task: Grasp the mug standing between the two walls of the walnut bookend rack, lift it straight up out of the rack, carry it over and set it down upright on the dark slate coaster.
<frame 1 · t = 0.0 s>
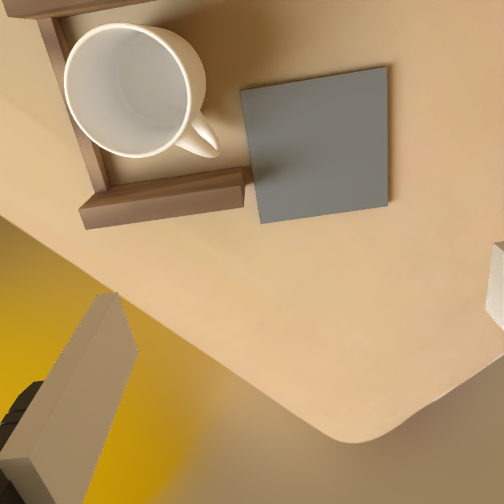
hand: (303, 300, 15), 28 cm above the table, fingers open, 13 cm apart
mug: (175, 94, 38), on the table
rack: (174, 95, 38), on the table
coaster: (317, 150, 40), on the table
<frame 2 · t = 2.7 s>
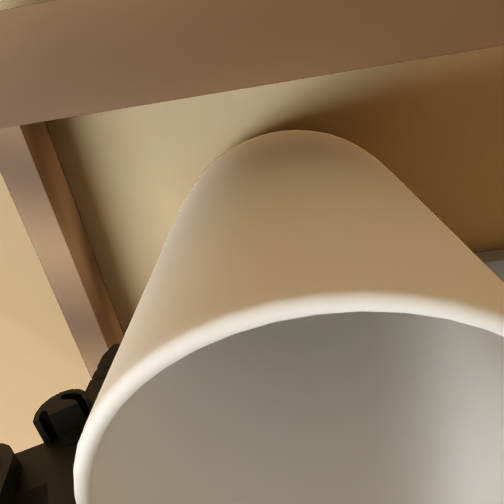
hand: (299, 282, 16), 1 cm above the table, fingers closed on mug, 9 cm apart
mug: (318, 260, 17), on the table, touching gripper
rack: (303, 264, 17), on the table
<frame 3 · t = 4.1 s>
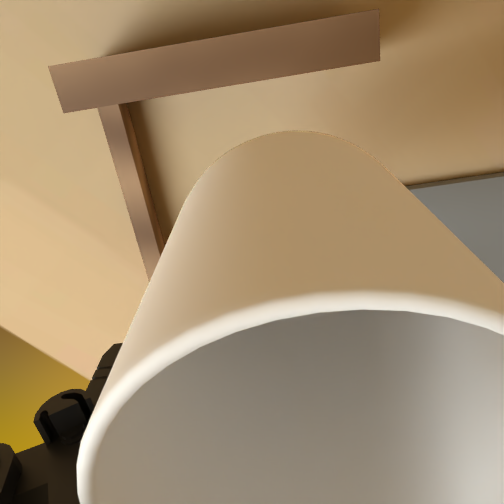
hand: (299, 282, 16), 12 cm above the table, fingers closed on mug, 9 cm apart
mug: (318, 260, 17), point 11 cm above the table, touching gripper
rack: (280, 197, 27), on the table
coaster: (468, 265, 29), on the table
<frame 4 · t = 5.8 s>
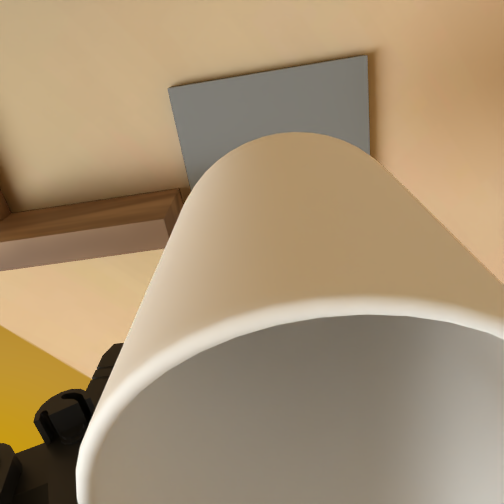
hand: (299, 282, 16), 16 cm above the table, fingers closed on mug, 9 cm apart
mug: (319, 262, 17), point 15 cm above the table, touching gripper
rack: (81, 93, 28), on the table
coaster: (277, 166, 30), on the table
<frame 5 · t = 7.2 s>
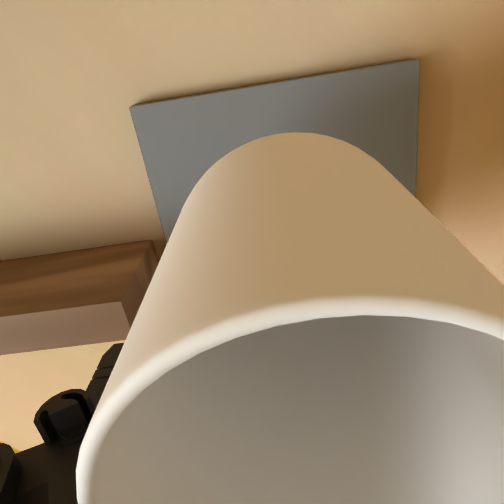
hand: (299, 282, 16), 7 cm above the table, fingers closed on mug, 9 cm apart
mug: (319, 262, 17), point 6 cm above the table, touching gripper
rack: (8, 114, 20), on the table
coaster: (286, 212, 22), on the table
when the fingers open (3 cm above the table, at t = 8.5 s): mug stays where it is, resting on coaster.
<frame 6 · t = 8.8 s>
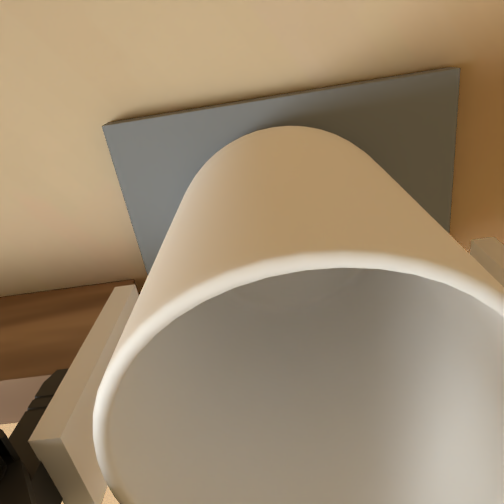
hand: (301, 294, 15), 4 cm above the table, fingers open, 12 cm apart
mug: (312, 250, 18), point 1 cm above the table, touching coaster
coaster: (293, 248, 19), on the table
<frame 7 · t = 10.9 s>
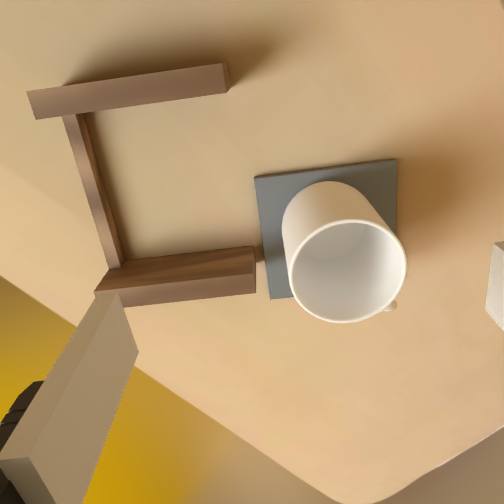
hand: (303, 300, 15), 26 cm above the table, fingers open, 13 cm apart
mug: (336, 233, 41), point 1 cm above the table, touching coaster
rack: (190, 179, 39), on the table
coaster: (327, 232, 41), on the table
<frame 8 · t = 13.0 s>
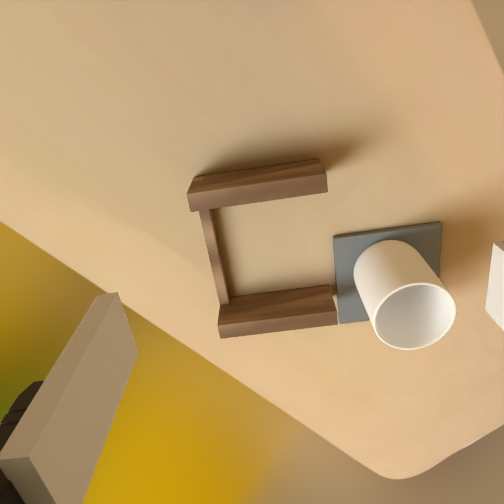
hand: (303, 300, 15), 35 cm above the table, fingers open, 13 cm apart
mug: (393, 275, 54), point 1 cm above the table, touching coaster
rack: (284, 239, 52), on the table
coaster: (385, 274, 54), on the table
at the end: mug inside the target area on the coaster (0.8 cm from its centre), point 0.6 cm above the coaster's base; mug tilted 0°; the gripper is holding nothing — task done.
